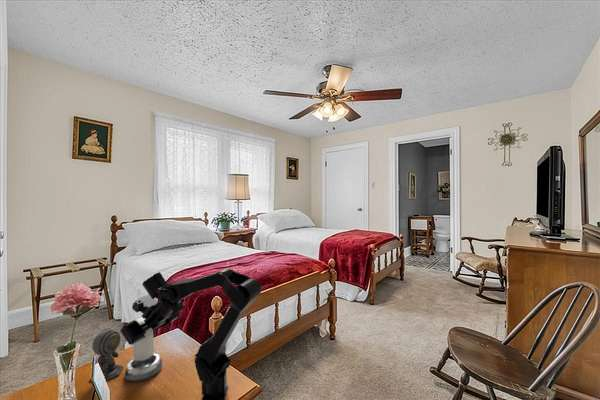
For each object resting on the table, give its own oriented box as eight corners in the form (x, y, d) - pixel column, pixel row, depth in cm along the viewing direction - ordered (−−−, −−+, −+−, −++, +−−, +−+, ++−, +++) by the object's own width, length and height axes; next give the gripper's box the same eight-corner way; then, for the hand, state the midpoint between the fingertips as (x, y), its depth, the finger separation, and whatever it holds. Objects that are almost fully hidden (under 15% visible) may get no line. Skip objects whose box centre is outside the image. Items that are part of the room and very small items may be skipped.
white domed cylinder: (154, 348, 97) (153, 315, 97) (153, 357, 92) (152, 322, 91) (134, 352, 95) (133, 319, 94) (132, 362, 89) (130, 327, 89)
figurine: (107, 385, 87) (105, 339, 86) (82, 380, 89) (80, 336, 88) (129, 367, 95) (128, 326, 95) (105, 364, 97) (104, 323, 97)
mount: (167, 360, 100) (166, 350, 99) (153, 381, 89) (153, 370, 88) (135, 361, 99) (135, 352, 99) (118, 383, 88) (117, 372, 88)
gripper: (172, 280, 100) (150, 306, 104) (123, 300, 82) (100, 330, 87) (189, 304, 97) (167, 329, 102) (143, 330, 80) (118, 359, 84)
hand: (140, 335), depth 94 cm, fingers closed on white domed cylinder, 6 cm apart
